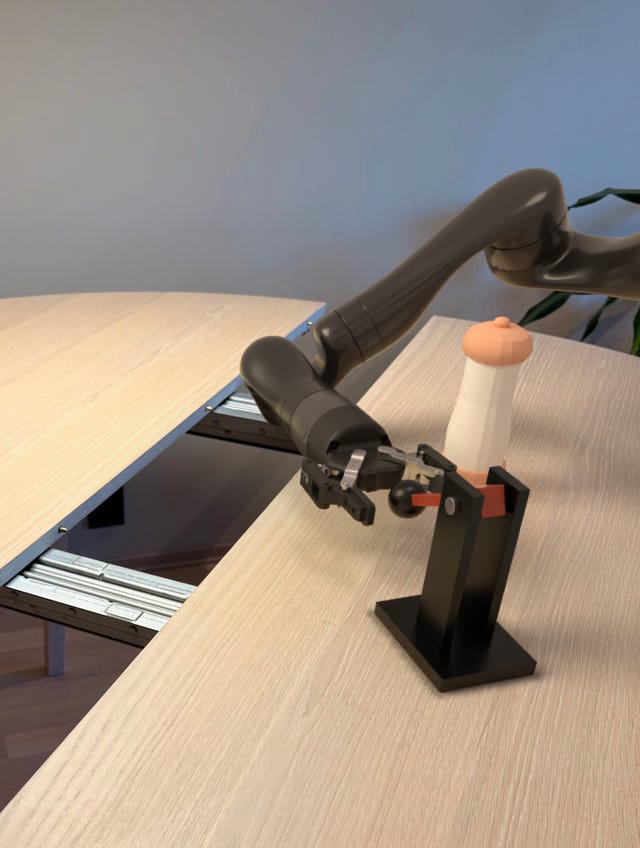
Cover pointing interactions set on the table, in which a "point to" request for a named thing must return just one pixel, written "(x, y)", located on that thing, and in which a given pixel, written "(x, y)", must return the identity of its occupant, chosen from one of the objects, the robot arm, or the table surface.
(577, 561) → the table surface
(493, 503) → the lever
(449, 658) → the bracket
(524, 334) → the salt shaker
